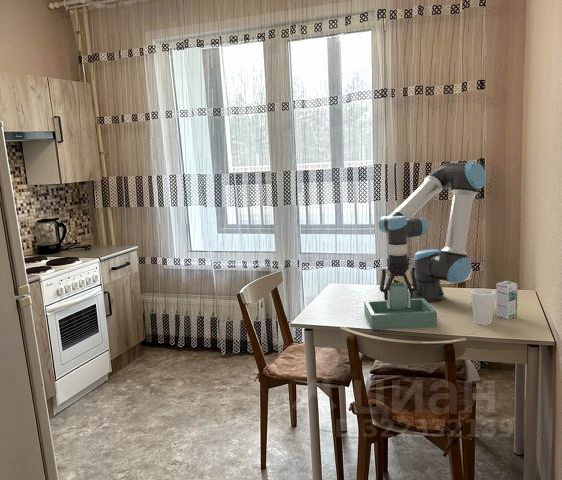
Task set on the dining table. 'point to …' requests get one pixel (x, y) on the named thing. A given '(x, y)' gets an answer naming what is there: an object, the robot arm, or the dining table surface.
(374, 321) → the tray
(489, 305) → the foam cup
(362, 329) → the dining table surface
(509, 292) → the syrup box
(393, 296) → the cup
